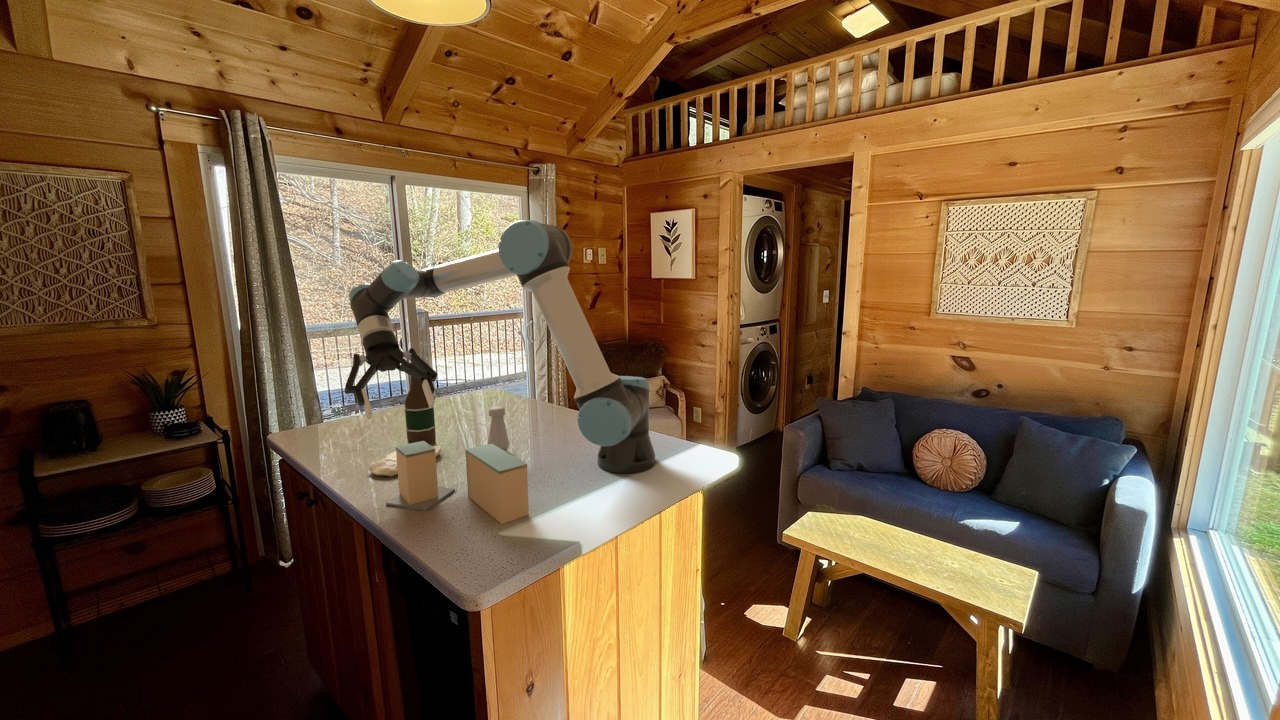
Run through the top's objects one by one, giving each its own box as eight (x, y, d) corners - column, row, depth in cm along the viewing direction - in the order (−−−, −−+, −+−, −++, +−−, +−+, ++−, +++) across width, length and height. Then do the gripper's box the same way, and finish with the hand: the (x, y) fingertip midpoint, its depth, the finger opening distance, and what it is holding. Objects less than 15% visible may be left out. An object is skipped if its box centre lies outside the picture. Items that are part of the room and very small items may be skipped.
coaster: (455, 491, 117) (454, 488, 116) (426, 510, 107) (426, 508, 107) (417, 486, 119) (416, 484, 119) (386, 505, 109) (385, 502, 109)
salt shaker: (503, 457, 138) (501, 410, 136) (484, 455, 139) (481, 409, 137) (513, 450, 143) (511, 405, 141) (494, 448, 145) (492, 404, 142)
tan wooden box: (468, 496, 114) (465, 449, 112) (494, 489, 118) (491, 443, 116) (501, 524, 102) (499, 471, 100) (528, 514, 105) (527, 463, 104)
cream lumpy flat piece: (357, 473, 127) (425, 450, 144) (392, 484, 121) (459, 458, 138) (356, 459, 126) (425, 437, 144) (391, 469, 120) (458, 445, 137)
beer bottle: (441, 441, 150) (436, 361, 146) (418, 448, 144) (411, 365, 140) (425, 436, 155) (419, 358, 150) (401, 443, 148) (395, 362, 144)
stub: (399, 494, 114) (395, 446, 112) (427, 486, 117) (423, 440, 115) (409, 504, 108) (405, 455, 106) (438, 496, 112) (435, 448, 110)
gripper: (427, 342, 137) (452, 408, 129) (319, 353, 121) (339, 429, 113) (433, 324, 132) (459, 392, 124) (321, 333, 116) (342, 411, 108)
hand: (402, 410), depth 118 cm, fingers open, 13 cm apart
